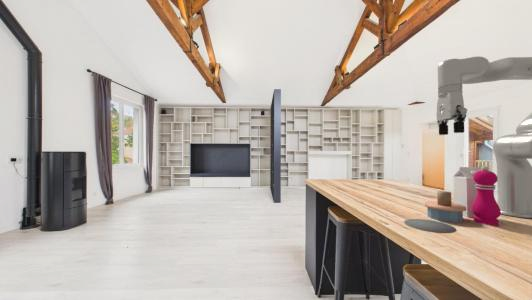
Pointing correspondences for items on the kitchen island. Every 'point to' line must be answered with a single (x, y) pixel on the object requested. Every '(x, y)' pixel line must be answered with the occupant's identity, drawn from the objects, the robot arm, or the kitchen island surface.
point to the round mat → (430, 226)
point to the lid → (444, 203)
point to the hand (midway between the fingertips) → (450, 133)
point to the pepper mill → (485, 198)
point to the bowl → (445, 215)
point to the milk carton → (465, 189)
